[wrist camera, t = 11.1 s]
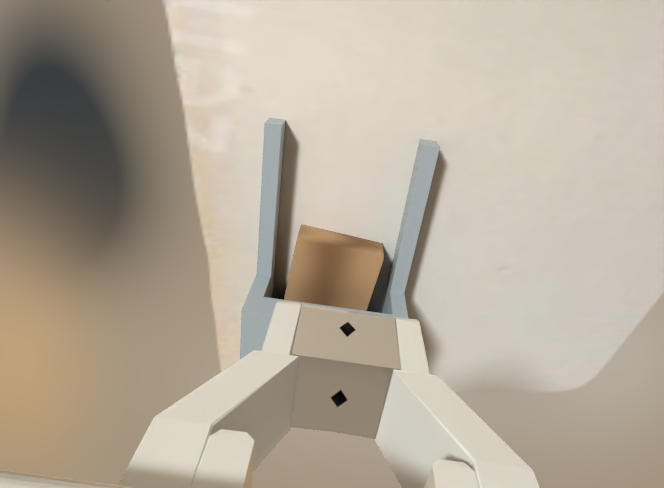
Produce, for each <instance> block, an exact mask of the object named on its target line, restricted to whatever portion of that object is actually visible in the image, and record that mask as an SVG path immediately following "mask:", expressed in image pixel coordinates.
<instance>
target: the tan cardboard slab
mask: <svg viewBox="0 0 664 488" xmlns="http://www.w3.org/2000/svg"><path fill="white" fill-rule="evenodd" d="M383 260H384V254H383V244H382V243H379V242H374V241H370V240H366V239H362V238H357V237H353V236H349V235H345V234H340V233H336V232H332V231H328V230H324V229H319V228H315V227H311V226H307V225H302V224H301V227H300V230H299V234H298V237H297V241H296V246H295V251H294V255H293V260H292V264H291V269H290V273H289V278H288V283H287V287H286V292H285V296H284V300H290V301H297V302H304V303H312V304H319V305H326V306H334V307H341V308H348V309H355V310H363V311H367V308H368V305H369V302H370V299H371V296H372V293H373V290H374V287H375V284H376V281H377V278H378V275H379V272H380V269H381V266H382V263H383Z"/></svg>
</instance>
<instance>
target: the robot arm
mask: <svg viewBox="0 0 664 488" xmlns="http://www.w3.org/2000/svg"><path fill="white" fill-rule="evenodd" d="M290 427H295V428H304V429H313V430H322V431H332V432H338V433H344V434H350V435H356V436H362V437H368V438H374V439H375V441H376V443H377V445H378V447H379V448H380V450H381V452H382V454H383V455H384V457H385V459H386V460H387V462H388V464H389V465H390V467H391V469H392V471H393V472H394V474H395V476H396V477H397V479H398V481H399V483H400V484H401V486H402V488H540V487H539V485H538V482H537V480H536V477H535V474H534V472H533V470H532V469H531V468H530V467H529V466H528V465H527V464H526V463H525V462H524V461H523V460H522V459H521V458H520V457H519V456H518V455H517V454H516V453H515V452H514V451H513V450H512V449H511V448H510V447H509V446H508V445H507V444H506V443H505V442H504V441H503V440H502V439H501V438H500V437H499V436H498V435H497V434H496V433H495V432H494V431H493V430H492V429H491V428H490V427H489V426H488V425H487V424H486V423H485V422H484V421H483V420H482V419H481V418H480V417H479V416H478V415H477V414H476V413H475V412H474V411H473V410H471V408H470V407H469V406H468V405H467V404H466V403H465V402H464V401H462V399H461V398H460V397H459V396H458V395H457V394H456V393H455V392H454V391H453V390H452V389H451V388H450V387H449V386H448V385H447V384H446V383H445V382H444V381H443V380H442V379H441V378H440V377H439V376H437V375H431V374H430V370H429V365H428V360H427V355H426V350H425V346H424V341H423V336H422V331H421V326H420V322H419V321H418V320H417V319H409V318H400V317H394V318H393V317H386V316H378V315H370V314H363V313H355V312H348V311H344V310H338V309H332V308H326V307H320V306H313V305H307V304H302V305H301V304H300V303H294V302H287V301H280V300H278V302H277V303H276V305H275V308H274V311H273V315H272V318H271V321H270V324H269V328H268V331H267V334H266V338H265V341H264V344H263V347H262V351H258V350H254V351H252V352H251V353H249V354H248V355H246V356H245V357H243V358H242V359H240V360H239V361H237V362H236V363H234V364H233V365H231V366H230V367H228V368H227V369H225V370H224V371H222V372H221V373H219V374H218V375H216V376H215V377H213V378H212V379H210V380H209V381H207V382H206V383H204V384H203V385H201V386H200V387H198V388H197V389H195V390H194V391H192V392H191V393H190V394H188V395H187V396H185V397H184V398H182V399H181V400H179V401H178V402H176V403H175V404H173V405H172V406H170V407H169V408H167V409H166V410H164V411H163V412H161V413H160V414H158V415H157V416H155V417H154V419H153V420H152V422H151V424H150V426H149V428H148V430H147V432H146V434H145V435H144V438H143V439H142V441H141V443H140V445H139V447H138V449H137V450H136V452H135V454H134V456H133V458H132V460H131V462H130V464H129V465H128V467H127V469H126V471H125V473H124V475H123V477H122V479H121V480H120V483H119V484H118V485H112V484H105V483H98V482H91V481H83V480H76V479H69V478H62V477H54V476H47V475H39V474H32V473H25V472H18V471H11V470H3V469H0V488H251V484H252V472H253V471H254V470H255V469H256V468H257V466H258V465H259V464H260V463H261V462H262V461H263V460H264V458H265V457H266V456H267V455H268V454H269V453H270V452H271V451H272V450H273V448H274V447H275V446H276V445H277V444H278V443H279V442H280V440H281V439H282V438H283V437H284V436H285V435H286V434H287V433H288V431H289V430H290Z"/></svg>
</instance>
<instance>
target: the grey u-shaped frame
mask: <svg viewBox="0 0 664 488" xmlns="http://www.w3.org/2000/svg"><path fill="white" fill-rule="evenodd" d="M284 134H285V120H280V119H272V118H269V119H268V120H267V121H266V122H265V127H264V146H263V165H262V185H261V204H260V224H259V243H258V262H257V274H256V277H255V279H254V282H253V284H252V286H251V289H250V291H249V294H248V296H247V299H246V301H245V303H244V306H243V308H242V316H241V346H240V359H242V358H243V357H245V356H246V355H248V354H249V353H251V352H252V351H254V350H258V351H262V347H263V344H264V341H265V338H266V334H267V331H268V328H269V324H270V321H271V318H272V315H273V311H274V308H275V305H276V303H277V302H278V300H280V301H287V302H294V303H300V304H301V305H302V304H307V305H313V306H320V307H326V308H332V309H338V310H344V311H348V312H355V313H363V314H370V315H378V316H386V317H393V318H394V317H400V318H408V313H407V307H406V301H405V295H404V293H405V289H406V285H407V281H408V276H409V272H410V268H411V264H412V260H413V256H414V252H415V248H416V244H417V240H418V236H419V231H420V227H421V223H422V219H423V215H424V211H425V207H426V203H427V199H428V195H429V191H430V186H431V182H432V178H433V174H434V170H435V166H436V162H437V158H438V154H439V150H440V147H439V145H438V144H437V142H436V141H430V140H423V139H420V142H419V146H418V151H417V155H416V160H415V164H414V169H413V173H412V178H411V182H410V187H409V191H408V196H407V200H406V205H405V210H404V214H403V219H402V223H401V228H400V232H399V237H398V241H397V246H396V250H395V255H394V259H393V264H392V269H391V273H390V278H389V282H388V287H387V291H386V296H385V300H384V305H383V309H382V313H377V312H370V311H363V310H355V309H348V308H341V307H334V306H326V305H319V304H312V303H304V302H297V301H290V300H283V299H275V298H272V297H273V284H274V270H275V256H276V243H277V229H278V216H279V202H280V188H281V175H282V161H283V147H284Z"/></svg>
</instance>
